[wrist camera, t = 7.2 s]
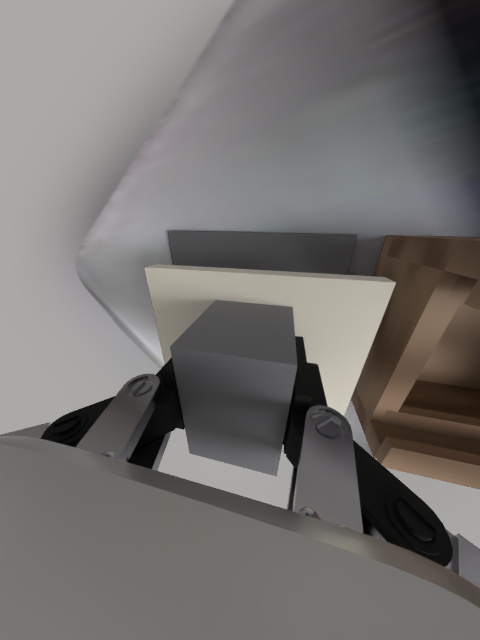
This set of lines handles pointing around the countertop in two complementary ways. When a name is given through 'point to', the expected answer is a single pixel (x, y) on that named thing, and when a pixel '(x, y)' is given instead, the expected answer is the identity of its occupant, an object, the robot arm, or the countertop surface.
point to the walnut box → (426, 361)
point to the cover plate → (315, 320)
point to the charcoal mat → (263, 251)
